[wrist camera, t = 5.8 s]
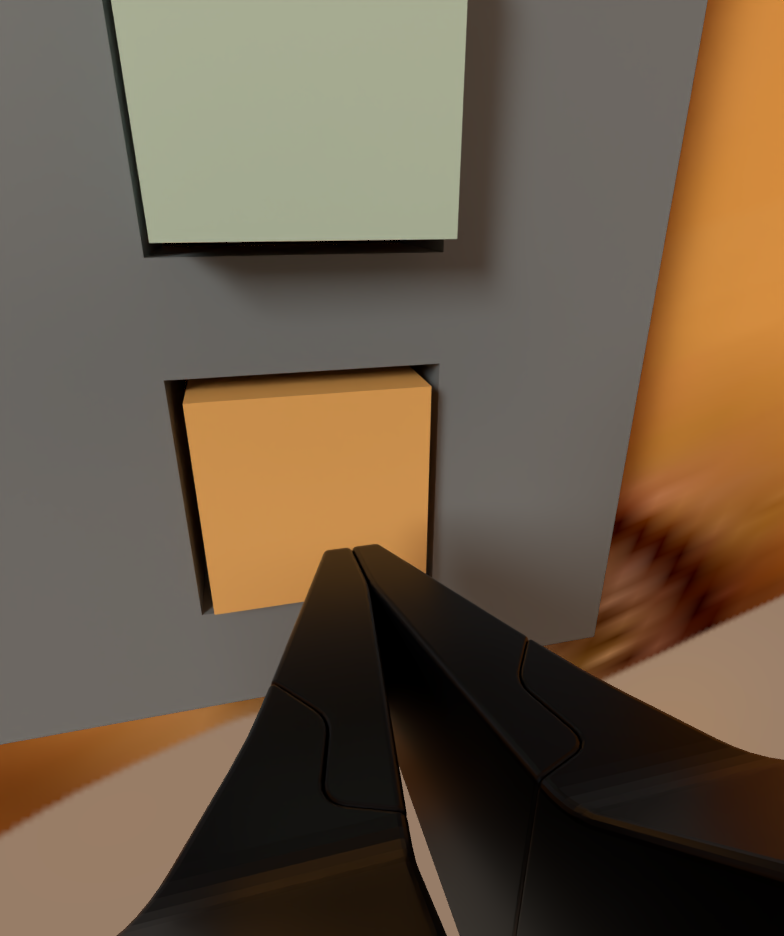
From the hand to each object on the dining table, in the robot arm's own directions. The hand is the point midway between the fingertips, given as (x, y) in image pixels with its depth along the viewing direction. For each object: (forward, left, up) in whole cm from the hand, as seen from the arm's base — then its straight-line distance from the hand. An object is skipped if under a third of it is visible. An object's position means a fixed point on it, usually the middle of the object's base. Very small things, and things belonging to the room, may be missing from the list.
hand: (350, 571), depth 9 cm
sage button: (0, +7, -4) cm, 8 cm away
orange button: (0, 0, -5) cm, 5 cm away
